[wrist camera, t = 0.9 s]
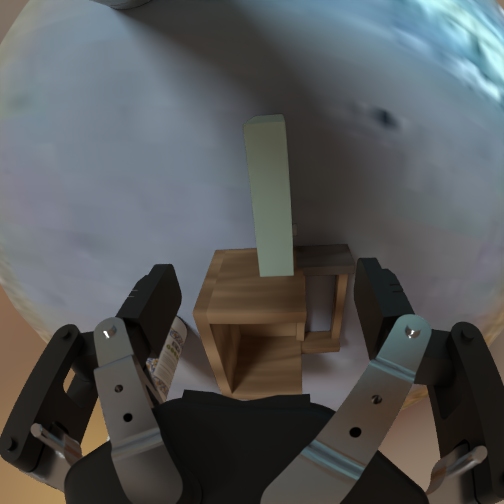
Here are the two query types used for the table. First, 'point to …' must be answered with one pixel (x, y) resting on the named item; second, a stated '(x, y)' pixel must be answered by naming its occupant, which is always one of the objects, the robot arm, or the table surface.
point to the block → (270, 193)
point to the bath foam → (167, 358)
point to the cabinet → (266, 319)
